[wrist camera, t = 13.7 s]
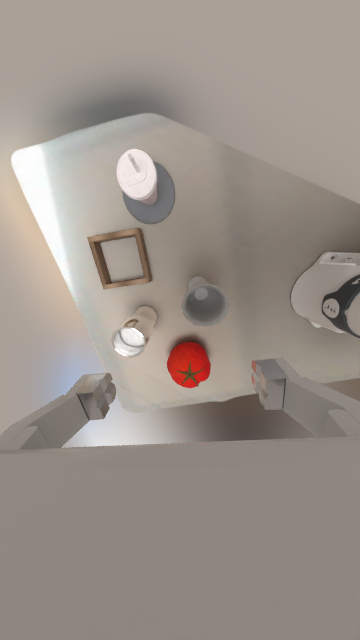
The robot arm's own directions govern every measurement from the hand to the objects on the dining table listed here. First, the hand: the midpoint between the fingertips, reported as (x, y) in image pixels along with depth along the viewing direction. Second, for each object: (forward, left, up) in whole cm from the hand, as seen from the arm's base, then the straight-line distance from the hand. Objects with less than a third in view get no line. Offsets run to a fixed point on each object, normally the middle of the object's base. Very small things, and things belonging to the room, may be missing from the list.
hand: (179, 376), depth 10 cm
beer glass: (+12, +7, -36) cm, 38 cm away
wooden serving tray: (+14, -8, -35) cm, 39 cm away
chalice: (-3, +1, -36) cm, 36 cm away
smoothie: (+5, -19, -35) cm, 40 cm away
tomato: (+2, +20, -36) cm, 41 cm away
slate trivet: (+5, -20, -35) cm, 41 cm away
